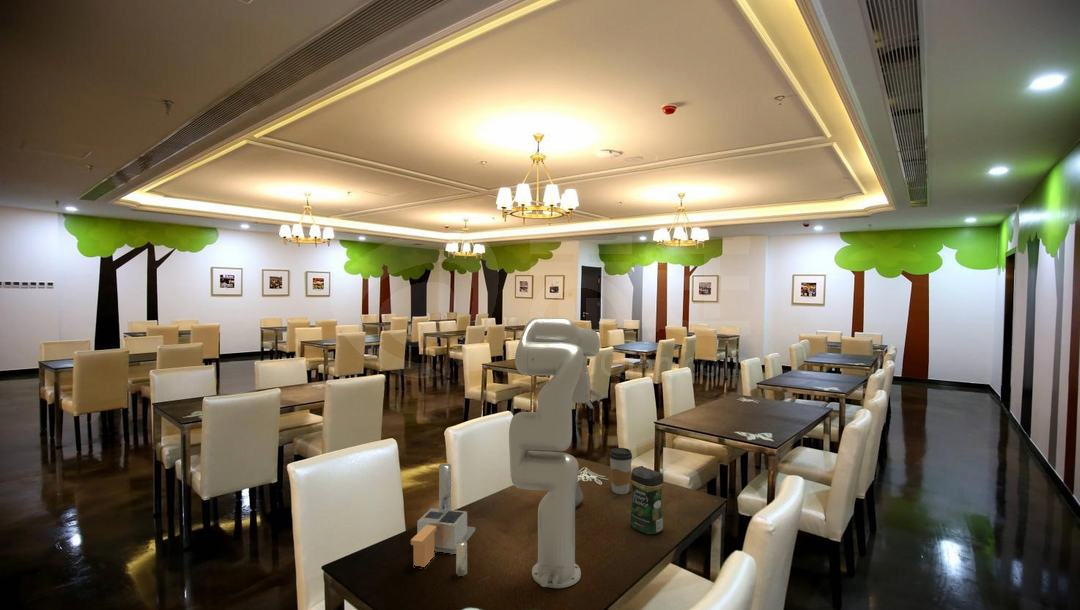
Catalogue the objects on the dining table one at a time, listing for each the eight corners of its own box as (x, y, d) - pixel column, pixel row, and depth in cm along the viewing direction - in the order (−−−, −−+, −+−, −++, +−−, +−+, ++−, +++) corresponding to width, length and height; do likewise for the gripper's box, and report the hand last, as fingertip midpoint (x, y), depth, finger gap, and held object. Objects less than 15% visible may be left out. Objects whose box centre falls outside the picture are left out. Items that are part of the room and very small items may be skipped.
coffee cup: (635, 489, 188) (635, 449, 188) (626, 497, 181) (627, 455, 181) (614, 485, 193) (614, 445, 192) (605, 492, 186) (605, 451, 185)
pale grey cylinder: (464, 577, 130) (464, 546, 130) (454, 575, 131) (454, 545, 131) (468, 571, 133) (468, 541, 133) (458, 570, 134) (458, 540, 133)
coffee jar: (626, 526, 159) (626, 467, 158) (642, 519, 164) (643, 462, 163) (650, 538, 151) (650, 476, 151) (667, 530, 156) (667, 470, 156)
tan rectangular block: (422, 571, 133) (422, 541, 133) (410, 570, 134) (410, 540, 133) (436, 554, 142) (436, 526, 141) (426, 553, 142) (426, 524, 142)
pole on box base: (456, 554, 141) (456, 483, 141) (416, 549, 144) (416, 479, 144) (475, 530, 156) (475, 465, 156) (438, 526, 159) (438, 462, 158)
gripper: (548, 368, 171) (548, 419, 171) (600, 370, 166) (599, 423, 167) (553, 365, 178) (553, 414, 178) (602, 367, 174) (602, 417, 174)
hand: (575, 418), depth 172 cm, fingers open, 9 cm apart
